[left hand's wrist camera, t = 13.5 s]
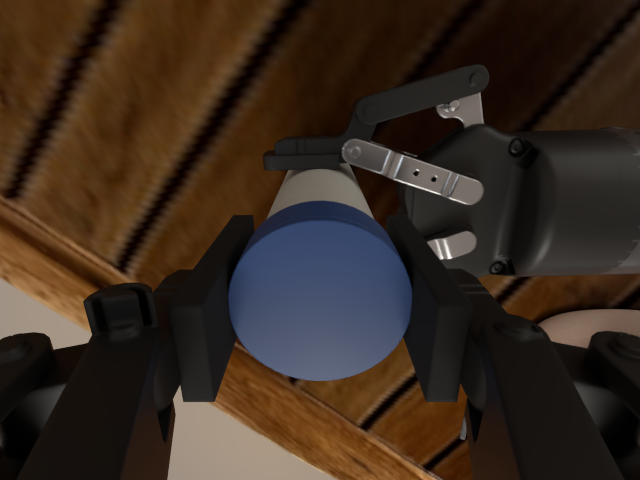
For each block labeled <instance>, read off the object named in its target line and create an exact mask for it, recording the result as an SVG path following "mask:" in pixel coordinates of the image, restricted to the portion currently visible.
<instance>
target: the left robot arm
mask: <svg viewBox="0 0 640 480" xmlns="http://www.w3.org/2000/svg"><path fill="white" fill-rule="evenodd" d="M386 233H387V234H388V236H389V237H390V239H391V241H392V242H393V244H394V246H395V248H396V250H397V252H398V254H399V256H400V258H401V260H402V262H403V264H404V266H405V268H406V270H407V273H408V275H409V277H410V281H411V285H412V291H413V295H412V305H411V315H410V322H409V325H408V327H407V330H406V332H405V334H404V336H403V337H404V340H405V343H406V346H407V349H408V352H409V355H410V358H411V360H412V363H413V366H414V369H415V372H416V375H417V378H418V380H419V383H420V386H421V389H422V392H423V395H424V398H425V400H426V402H457V399H458V393H459V388H460V383H461V385H462V387H463V389H464V391H465V393H466V395H467V403H466V408H465V413H464V418H463V423H462V429H461V435H460V439H464V440H465V437H466V432H467V437H468V445H469V453H470V460H471V468H472V476H473V480H640V337H638V336H635V335H632V334H630V335H629V334H628V333H624V332H614V331H601V332H596V333H595V334H594V335H592V336H591V339H590V342H589V345H588V348H583V347H578V346H573V345H567V344H562V343H557V342H553V341H551V340H550V338H549V336H548V334H547V333H546V332H545V331H544V330H543V328H542V327H540V326H539V325H537V324H536V323H534V322H532V321H530V320H528V319H525V318H523V317H520V316H516V315H512V314H508V313H507V312H506V311H505V310H504V309H503V308H502V307H501V306H500V304H499V303H498V302H497V301H496V300H495V299H494V298H493V296H492V295H491V294H489V292H488V291H487V290H486V288H485V287H482V284H481V283H480V282H479V280H478V279H477V278H476V277H475V276H474V275H472V274H470V273H468V272H467V271H465V270H463V269H447V268H446V267H445V266H444V264H443V263H442V262H441V260H440V259H439V258H438V256H437V255H436V254H435V252H434V251H433V250H432V248H431V247H430V246H429V244H428V243H427V242H426V240H425V239H424V238H423V236H422V235H421V234H420V232H419V231H418V230H417V228H416V227H415V226H414V224H413V223H412V222H411V220H410V219H409V218H408V216H407V215H387V225H386ZM253 234H254V220H253V215H233V217H232V218H231V219H230V221H229V222H228V224H227V225H226V226H225V228H224V229H223V230H222V232H221V233H220V234H219V236H218V237H217V238H216V240H215V241H214V242H213V244H212V245H211V246H210V248H209V249H208V250H207V252H206V253H205V254H204V256H203V257H202V258H201V260H200V261H199V262H198V264H197V265H196V266H195V268H194V269H193V270H178V271H176V272H174V273H173V274H171V275H169V276H167V277H166V278H165V279H164V280H163V281H162V282H161V284H160V285H159V286H158V288H156V289H155V290H154V292H153V293H152V288H151V287H149V286H148V285H146V284H142V283H123V284H117V285H112V286H109V287H106V288H103V289H101V290H99V291H97V292H95V293H93V294H91V295H89V296H88V297H87V298H86V299H85V300H84V301H83V303H84V307H85V310H86V314H87V317H88V321H89V325H90V328H91V332H92V337H91V338H90V340H89V342H88V343H86V344H82V345H76V346H71V347H66V348H60V349H55V350H53V347H52V344H51V340H50V338H49V337H48V336H47V335H45V334H43V333H35V332H33V333H24V334H16V335H13V336H8V337H5V338H2V339H1V340H0V480H167V477H168V469H169V461H170V454H171V446H172V438H173V430H174V422H175V408H174V403H173V398H174V396H175V394H176V392H177V390H178V388H179V386H180V385H181V391H182V397H183V402H214V401H215V399H216V396H217V393H218V390H219V387H220V384H221V381H222V379H223V376H224V373H225V370H226V367H227V364H228V361H229V359H230V356H231V353H232V350H233V347H234V344H235V341H236V339H237V335H236V332H235V330H234V328H233V326H232V323H231V319H230V311H229V301H228V289H229V283H230V280H231V277H232V274H233V272H234V270H235V268H236V266H237V264H238V262H239V260H240V258H241V256H242V254H243V252H244V250H245V248H246V246H247V244H248V242H249V240H250V238H251V236H252V235H253Z"/></svg>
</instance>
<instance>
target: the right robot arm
mask: <svg viewBox="0 0 640 480" xmlns="http://www.w3.org/2000/svg"><path fill="white" fill-rule="evenodd" d="M488 82H489V73H488V70H487V69H486V68H485V67H484V66H482V65H479V64H476V65H471V66H467V67H462V68H458V69H454V70H450V71H447V72H444V73H441V74H437V75H434V76H431V77H427V78H424V79H421V80H417V81H414V82H411V83H407V84H404V85H401V86H398V87H394V88H391V89H388V90H384V91H381V92H378V93H374V94H371V95H368V96H364V97H361V98H359V99H357V100H356V101H355V102H354V103H353V106H352V111H351V114H350V117H349V120H348V123H347V125H346V127H345V129H344V130H343V131H342V132H341V133H339V134H337V135H333V136H299V137H286V138H283V139H281V140H279V141H277V142H276V143H275V144H274V146H275V150H271V151H267V152H266V153H264V154H263V162H264V170H270V171H273V170H310V169H340V163H349V164H351V165H354V166H357V167H360V168H363V169H366V170H369V171H372V172H375V173H378V174H381V175H384V176H386V177H388V178H390V179H392V180H395V181H397V193H398V197H399V202H400V204H399V208H398V211H397V214H396V215H407V216H408V218H409V219H410V220H411V222H412V223H413V224H414V226H415V227H416V228H417V230H418V231H419V232H420V234H421V235H422V236H423V238H424V239H425V240H426V242H427V243H428V244H429V246H430V247H431V248H432V250H433V251H434V252H435V254H436V255H437V256H438V258H439V259H440V260H441V262H442V263H443V264H444V266H445V267H446V268H447V269H463V270H465V271H467V272H468V273H470V274H472V275H474V276H475V277H476V278H479V277H482V276H485V275H492V274H493V275H503V276H513V277H526V276H566V275H604V274H637V273H640V128H635V129H625V128H621V127H606V128H601V129H596V130H563V131H529V132H501V131H499V130H497V129H495V128H494V127H492V126H490V125H488V124H484V121H483V112H482V103H481V95H480V92H482V91H483V90H484V89H485V88H486V86H487V84H488ZM430 107H431V110H432V112H433V114H434V115H436V116H437V117H441V118H453V119H454V120H455V121H456V122H457V125H458V127H457V128H455V129H454V130H453V131H451V132H450V133H449V134H447V135H446V136H444V137H443V138H442V139H440V140H439V141H438V142H436V143H435V144H433V145H432V146H431V147H429V148H428V149H427V150H425V151H424V152H422V153H421V154H420V155H418V156H417V155H414V154H411V153H408V152H405V151H403V150H400V149H397V148H394V147H391V146H388V145H383V144H380V143H377V142H374V141H371V138H372V135H373V133H374V130H375V127H376V125H377V123H379V122H383V121H386V120H390V119H393V118H396V117H400V116H403V115H407V114H410V113H413V112H417V111H420V110H424V109H427V108H430ZM385 231H386V230H385Z"/></svg>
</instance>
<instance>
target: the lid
mask: <svg viewBox="0 0 640 480" xmlns="http://www.w3.org/2000/svg"><path fill="white" fill-rule="evenodd" d="M412 295H413V291H412V285H411V281H410V277H409V275H408V273H407V270H406V268H405V266H404V264H403V262H402V260H401V258H400V256H399V254H398V252H397V250H396V248H395V246H394V244H393V242H392V241H391V239H390V237H389V236H388V234H387V233H386V231H385V230H384V229H383V228H382V226H381V225H380V224H379V223H377V222H376V221H375V220H374V219H373V218H372V217H370V216H369V215H367V214H366V213H364V212H363V211H361V210H359V209H357V208H355V207H352V206H349V205H346V204H343V203H338V202H334V201H323V200H322V201H308V202H302V203H298V204H294V205H291V206H289V207H286V208H284V209H282V210H280V211H278V212H276V213H275V214H273V215H272V216H270V217H269V218H268V219H267V220H265V221H264V222H263V223H262V224H261V225H260V226H259V227H258V228H257V229H256V231H255V232H254V234H253V235H252V236H251V238H250V240H249V242H248V244H247V246H246V248H245V250H244V252H243V254H242V256H241V258H240V260H239V262H238V264H237V266H236V268H235V270H234V272H233V274H232V277H231V280H230V283H229V289H228V301H229V311H230V319H231V323H232V326H233V328H234V330H235V332H236V335H237V336H238V338H239V339H240V341H241V343H242V344H243V345H244V346H245V348H246V349H247V350H248V351H249V352H250V353H251V354H252V355H253V356H254V357H255V358H256V359H258V360H259V361H260V362H262V363H263V364H265V365H266V366H268V367H270V368H271V369H273V370H275V371H277V372H280V373H282V374H284V375H287V376H291V377H294V378H299V379H304V380H314V381H327V380H336V379H342V378H346V377H350V376H353V375H356V374H359V373H361V372H363V371H365V370H367V369H369V368H371V367H373V366H374V365H376V364H378V363H379V362H380V361H382V360H383V359H384V358H385V357H387V356H388V355H389V354H390V353H391V352H392V351H393V350H394V349H395V347H396V346H397V345H398V343H399V342H400V341H401V339H402V337H403V336H404V334H405V332H406V330H407V327H408V325H409V322H410V315H411V305H412Z"/></svg>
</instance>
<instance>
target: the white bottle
mask: <svg viewBox="0 0 640 480" xmlns="http://www.w3.org/2000/svg"><path fill="white" fill-rule="evenodd" d="M322 200H323V201H334V202H338V203H343V204H346V205H349V206H352V207H355V208H357V209H359V210H361V211H363V212H364V213H366V214H367V215H369V216H370V217H372V218H373V216H372V214H371V211H370V209H369V207H368V205H367V202H366V200H365V198H364V196H363V194H362V191H361V189H360V187H359V185H358V183H357V180H356V178H355V176H354V174H353V171H352V169H351V167H350V165H349V164H348V163H340V169H310V170H288V172H287V175H286V177H285V179H284V181H283V184H282V186H281V188H280V190H279V192H278V195H277V197H276V199H275V201H274V204H273V206H272V208H271V210H270V212H269V215H268V217H267V219H268V218H269V217H270V216H272V215H273V214H275V213H276V212H278V211H280V210H282V209H284V208H286V207H289V206H291V205H294V204H298V203H302V202H308V201H322ZM267 219H266V220H267ZM373 219H374V218H373Z"/></svg>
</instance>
